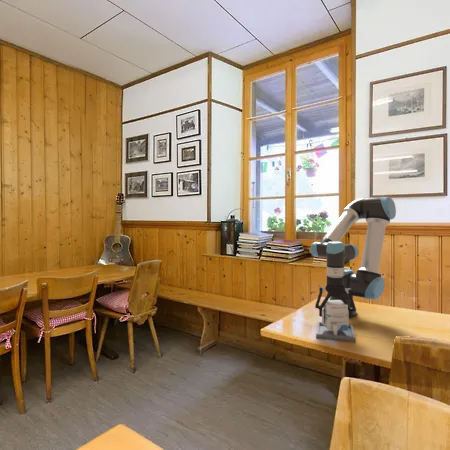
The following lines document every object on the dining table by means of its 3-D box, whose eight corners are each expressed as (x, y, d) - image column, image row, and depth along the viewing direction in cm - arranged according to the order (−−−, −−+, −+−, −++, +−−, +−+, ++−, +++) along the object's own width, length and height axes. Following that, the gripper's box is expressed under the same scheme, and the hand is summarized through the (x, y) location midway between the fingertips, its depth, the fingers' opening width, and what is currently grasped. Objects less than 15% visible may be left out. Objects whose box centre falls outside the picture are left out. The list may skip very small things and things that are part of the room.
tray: (317, 325, 156) (317, 313, 156) (352, 328, 152) (352, 316, 151) (316, 338, 141) (316, 325, 141) (355, 342, 136) (355, 329, 136)
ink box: (340, 324, 151) (341, 299, 150) (348, 330, 142) (348, 304, 141) (322, 324, 150) (322, 299, 150) (329, 331, 142) (329, 305, 141)
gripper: (308, 276, 145) (308, 325, 146) (363, 279, 138) (362, 330, 139) (309, 273, 152) (309, 319, 153) (361, 275, 145) (361, 324, 146)
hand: (335, 324), depth 146 cm, fingers closed on ink box, 10 cm apart
